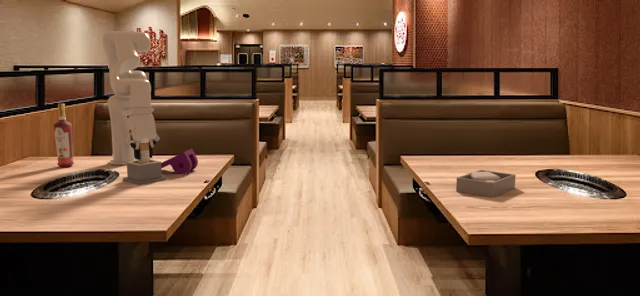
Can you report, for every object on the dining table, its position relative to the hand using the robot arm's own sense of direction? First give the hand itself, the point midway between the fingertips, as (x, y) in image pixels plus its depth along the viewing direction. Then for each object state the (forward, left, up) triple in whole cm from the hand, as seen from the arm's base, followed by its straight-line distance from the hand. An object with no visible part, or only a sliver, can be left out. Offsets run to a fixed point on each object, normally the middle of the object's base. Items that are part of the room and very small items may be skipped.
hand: (143, 157), depth 202 cm
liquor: (-52, -9, -9) cm, 54 cm away
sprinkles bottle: (0, 0, -6) cm, 6 cm away
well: (0, 0, -9) cm, 9 cm away
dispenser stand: (+107, +75, -9) cm, 131 cm away
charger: (+107, +75, -9) cm, 131 cm away
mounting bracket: (-6, +17, -9) cm, 20 cm away
